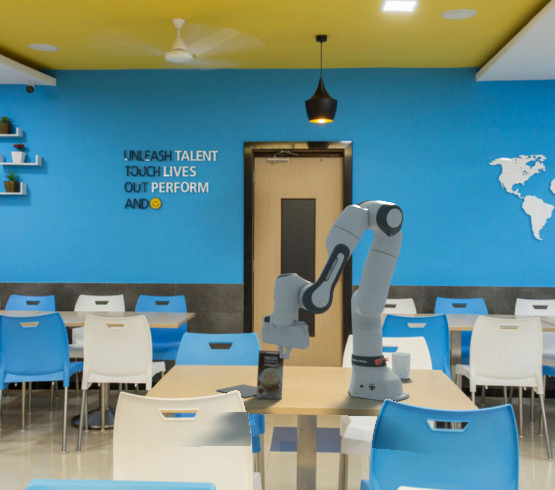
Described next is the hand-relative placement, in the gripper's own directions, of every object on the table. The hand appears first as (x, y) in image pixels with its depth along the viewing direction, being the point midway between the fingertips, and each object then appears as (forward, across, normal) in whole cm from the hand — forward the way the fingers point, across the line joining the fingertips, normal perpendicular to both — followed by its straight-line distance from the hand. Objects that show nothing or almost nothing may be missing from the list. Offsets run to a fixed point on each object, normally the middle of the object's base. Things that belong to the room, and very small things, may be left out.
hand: (284, 358), depth 205 cm
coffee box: (+15, +8, -1) cm, 17 cm away
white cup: (+14, -8, -65) cm, 66 cm away
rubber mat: (+15, +20, -1) cm, 25 cm away
